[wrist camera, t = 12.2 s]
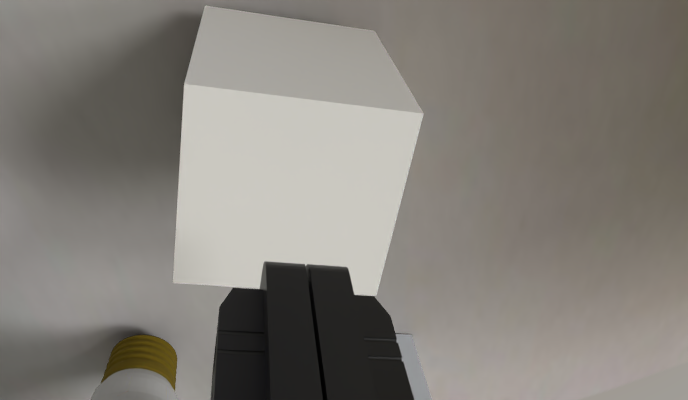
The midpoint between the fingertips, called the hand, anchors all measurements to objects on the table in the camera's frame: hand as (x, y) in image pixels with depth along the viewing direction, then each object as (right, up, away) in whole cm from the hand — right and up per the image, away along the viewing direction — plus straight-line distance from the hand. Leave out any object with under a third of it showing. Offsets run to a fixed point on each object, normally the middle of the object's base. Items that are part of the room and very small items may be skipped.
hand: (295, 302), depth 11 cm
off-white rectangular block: (-1, +5, +9) cm, 10 cm away
